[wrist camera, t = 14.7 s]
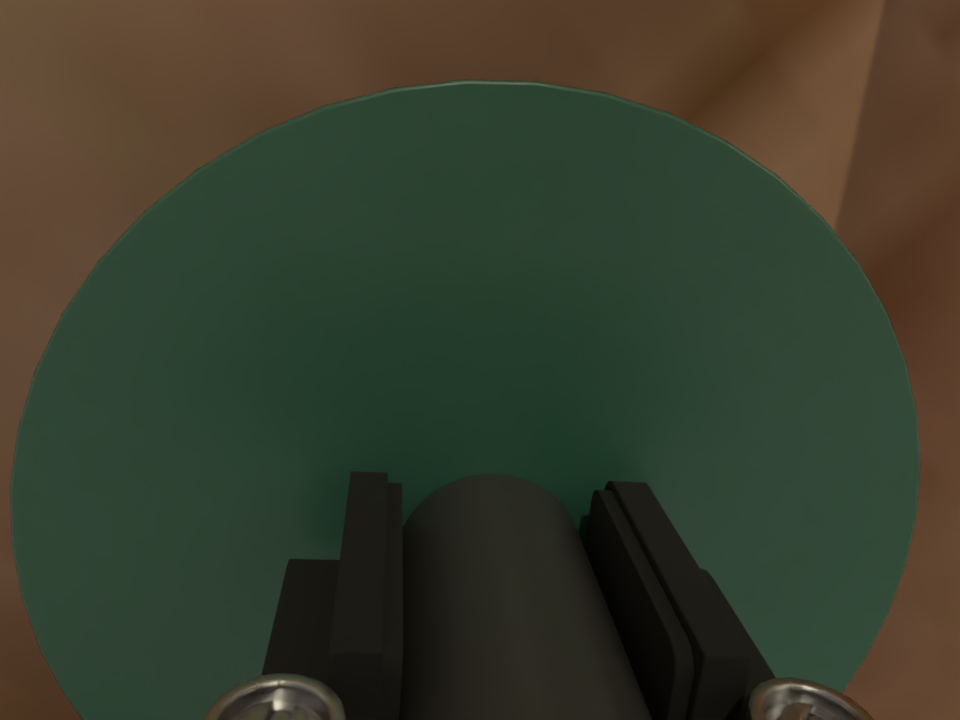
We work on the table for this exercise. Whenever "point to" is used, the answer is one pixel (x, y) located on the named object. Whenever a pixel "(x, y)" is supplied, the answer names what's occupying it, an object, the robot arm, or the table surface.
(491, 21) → the table surface
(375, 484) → the robot arm
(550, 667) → the lid
